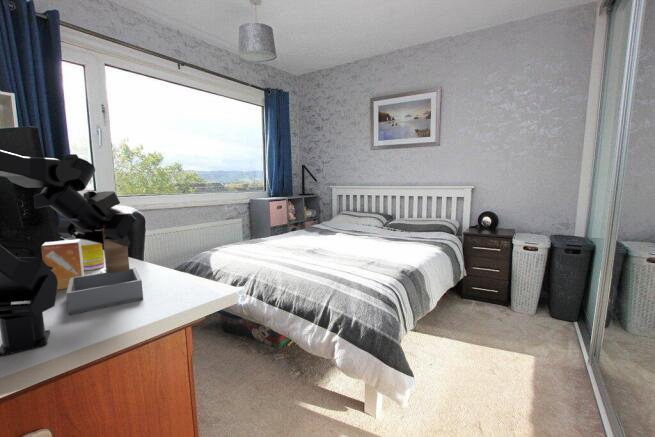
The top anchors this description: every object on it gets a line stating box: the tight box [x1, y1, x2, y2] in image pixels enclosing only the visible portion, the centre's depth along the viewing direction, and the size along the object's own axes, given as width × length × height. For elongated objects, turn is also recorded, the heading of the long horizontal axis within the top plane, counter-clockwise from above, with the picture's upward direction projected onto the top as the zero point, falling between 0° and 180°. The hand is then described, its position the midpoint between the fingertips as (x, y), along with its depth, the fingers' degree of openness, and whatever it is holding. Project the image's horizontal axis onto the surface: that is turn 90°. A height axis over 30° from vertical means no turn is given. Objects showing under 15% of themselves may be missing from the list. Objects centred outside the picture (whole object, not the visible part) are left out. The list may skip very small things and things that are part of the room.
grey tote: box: [65, 267, 144, 315], centre depth 81 cm, size 15×15×5 cm
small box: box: [41, 238, 85, 291], centre depth 90 cm, size 8×6×13 cm
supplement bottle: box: [81, 239, 105, 271], centre depth 109 cm, size 7×7×13 cm
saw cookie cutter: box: [99, 267, 106, 273], centre depth 103 cm, size 13×5×2 cm, turn 44°
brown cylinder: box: [102, 228, 130, 273], centre depth 81 cm, size 5×5×13 cm
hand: (120, 244), depth 82 cm, fingers closed on brown cylinder, 5 cm apart
